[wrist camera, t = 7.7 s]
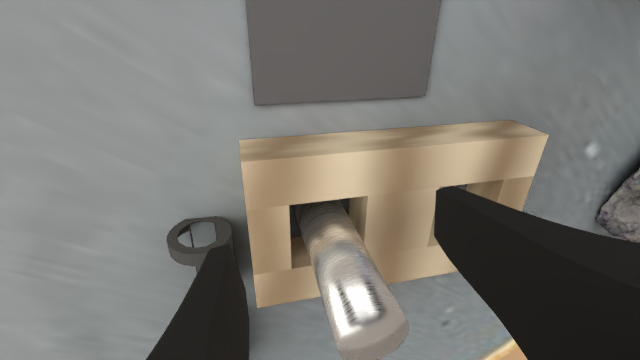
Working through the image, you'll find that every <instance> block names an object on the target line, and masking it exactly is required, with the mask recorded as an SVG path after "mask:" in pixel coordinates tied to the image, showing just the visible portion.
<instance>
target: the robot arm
mask: <svg viewBox="0 0 640 360" xmlns="http://www.w3.org/2000/svg"><path fill="white" fill-rule="evenodd" d="M434 237H435V239H436V240H437V242H438V243H439V245H440V247H441V248H442V250H443V251H444V253H445V254H446V256H447V257H448V259H449V260H450V261H451V262H452V264H453V265H454V266H455V267H456V268H457V270H458V271H459V272H460V273H461V274H462V276H463V277H464V278H465V279H466V280H467V281H468V283H469V284H470V285H471V286H472V287H473V288H474V290H475V291H476V292H477V293H478V294H479V295H480V297H481V298H482V299H483V300H484V301H485V302H486V303H487V305H488V306H489V307H490V308H491V309H492V310H493V312H494V313H495V314H496V316H497V317H498V318H499V319H500V321H501V322H502V323H503V325H504V326H505V327H506V329H507V330H508V332H509V333H510V334H511V336H512V337H513V339H514V340H515V342H516V343H517V344H518V346H519V347H520V349H521V350H522V352H523V353H524V354H525V356H526V357H527V359H528V360H640V243H636V242H631V241H626V240H621V239H616V238H611V237H607V236H603V235H598V234H594V233H591V232H587V231H583V230H579V229H575V228H572V227H568V226H565V225H561V224H558V223H554V222H551V221H548V220H545V219H542V218H539V217H536V216H533V215H530V214H527V213H524V212H522V211H519V210H516V209H513V208H511V207H508V206H505V205H503V204H500V203H497V202H495V201H492V200H489V199H487V198H484V197H482V196H479V195H476V194H474V193H471V192H468V191H466V190H463V189H460V188H457V187H454V186H450V187H446V188H442V189H438V190H436V201H435V221H434ZM146 360H249V317H248V307H247V299H246V291H245V286H244V284H243V281H242V278H241V275H240V272H239V270H238V267H237V264H236V261H235V258H234V256H233V253H232V250H231V247H230V244H226V245H222V246H218V247H214V248H210V249H209V251H208V252H207V254H206V256H205V259H204V261H203V263H202V265H201V267H200V269H199V271H198V273H197V275H196V277H195V279H194V281H193V283H192V285H191V287H190V289H189V291H188V292H187V294H186V296H185V298H184V300H183V302H182V304H181V305H180V307H179V309H178V311H177V312H176V314H175V315H174V317H173V319H172V320H171V322H170V324H169V325H168V327H167V329H166V330H165V332H164V334H163V335H162V337H161V338H160V340H159V341H158V343H157V344H156V346H155V347H154V349H153V350H152V352H151V353H150V354H149V356H148V357H147V359H146Z"/></svg>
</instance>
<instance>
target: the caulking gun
mask: <svg viewBox="0 0 640 360" xmlns="http://www.w3.org/2000/svg"><path fill="white" fill-rule="evenodd" d="M198 221H210V222H213V223H215V231H216V241H215V242H214V243H212V244H210V245H208V246H206V247H200V248H194V245H193V239H192V233H191V228H190V224H191V223H195V222H198ZM189 230H190V236H191V241H192V247H186V246H184V245H182V244H180V243H179V241H178V239H177V238H178V237H179V236H180V235H181V234H183V233H185V232H187V231H189ZM167 244H168V248H169V253H170V256H171V257H172V258H173V260H175V261H176V262H178V263H180V264H183V265H188V266H196V270H197V273H198V271H199V269H200V267H201V265H202V263H203V261H204V259H205V256H206V254H207V252H208V251H209V249H210V248H214V247H218V246H222V245H226V244H230V247H231V250H232V253H233V256H234V247H233V237H232V228H231V225H230V224H229V223H228V222H227V221H226V220H224V219H222V218H220V217H216V216H215V217H205V218H194V219H186V220H184V221H182V222H180V223H178V224H177V225H176V226H174V227H173V228H172V229H171V230H170V232H169V234H168V236H167ZM234 258H235V257H234Z"/></svg>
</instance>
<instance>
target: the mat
mask: <svg viewBox="0 0 640 360" xmlns="http://www.w3.org/2000/svg"><path fill="white" fill-rule="evenodd" d="M440 2H441V0H246V9H247V21H248V33H249V45H250V57H251V69H252V81H253V93H254V104H255V105H267V104H286V103H305V102H325V101H344V100H363V99H382V98H402V97H421V96H426V89H427V83H428V77H429V71H430V64H431V58H432V52H433V46H434V40H435V33H436V27H437V21H438V15H439V8H440Z"/></svg>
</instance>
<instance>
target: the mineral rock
mask: <svg viewBox="0 0 640 360" xmlns="http://www.w3.org/2000/svg"><path fill="white" fill-rule="evenodd" d="M596 217H597V221H598V222H599V223H600V224H601V225H602V226H603V227H604V228H605V229H606V230H607V231H608V232H609V233H610V234H612V235H614V236H619V237H621V238H622V239H623V240H626V241H631V242H636V243H640V168H639V170H638V171H637V173H635V172H634V173H633V174H632V175H631V176H630V177H629V178H628V179H627V180H626V181H625V182H624V183H623V184H622V187H620V188H619V189H618V191H616V192H615V193H614V194H613V195H612V196H611V198H610V199H609V200H608V202H606V203H605V204H603V206H602V208H601V212H600V215H598V216H596Z"/></svg>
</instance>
